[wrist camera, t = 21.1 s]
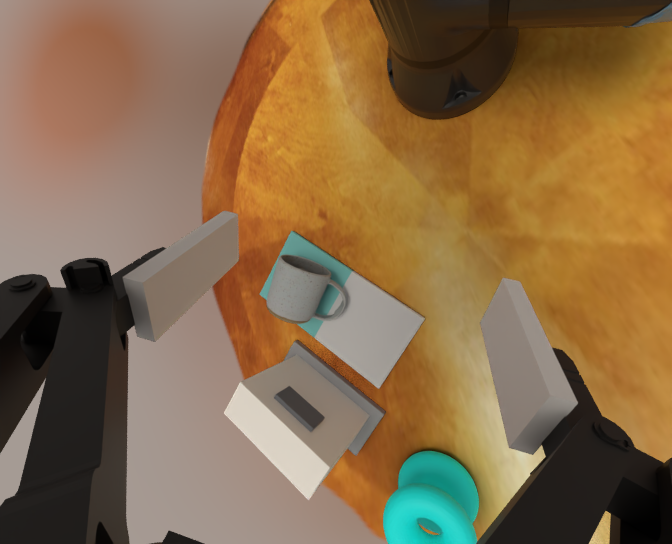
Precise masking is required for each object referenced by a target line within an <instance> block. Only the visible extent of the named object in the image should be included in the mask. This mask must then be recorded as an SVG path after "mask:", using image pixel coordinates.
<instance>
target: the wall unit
mask: <svg viewBox="0 0 672 544" xmlns="http://www.w3.org/2000/svg"><path fill="white" fill-rule="evenodd" d="M385 413H386V411H384V410H383V409H382V408H381V407H380V406H378V405H377V404H376V403H375V402H373V401H372V400H371V399H370V398H368V397H367V396H366V395H365V394H364V393H362V392H361V391H360V390H359V389H357V388H356V387H355V386H354V385H353V384H351V383H350V382H349V381H348V380H346V379H345V378H344V377H343V376H341V375H340V374H339V373H338V372H337V371H335V370H334V369H333V368H332V367H330V366H329V365H328V364H327V363H325V362H324V361H323V360H322V359H321V358H319V357H318V356H317V355H316V354H314V353H313V352H312V351H311V350H310V349H308V348H307V347H306V346H305V345H303V344H302V343H301V342H300V341H298V340H296V341H294V343H293V345H292V346H291V348H290V350H289V352H288V354H287V355H286V357H285V359H284V361H283V362H281V363H279V364H277V365H275V366H273V367H271V368H268V369H266V370H264V371H262V372H260V373H258V374H256V375H254V376H252V377H250V378H248V379H246V380H244V381H241V382H240V383H239V385H238V387H237V389H236V391H235V393H234V395H233V397H232V399H231V401H230V403H229V405H228V406H227V408H226V410H225V412H224V414H225V415H226V416H227V417H228V418H229V419H230V420H231V421H232V422H233V423H234V424H235V425H236V426H237V427H238V428H239V429H240V430H241V431H242V432H243V433H244V434H245V435H246V436H247V437H248V438H249V439H250V440H251V441H252V442H253V443H254V445H256V447H257V448H258V449H259V450H260V451H261V452H262V453H263V454H264V455H265V456H266V457H267V458H268V459H269V460H270V461H271V462H272V463H273V464H274V465H275V466H276V467H277V468H278V469H279V470H280V471H281V472H282V473H283V474H284V475H285V476H286V477H287V478H288V480H289V481H290V482H291V483H293V484H294V486H295V487H296V488H297V489H298V490H299V491H300V492H301V493H302V494H303V495H304V496H305V497H306V498H307V499H308V500H309V499H310V497H311V496H312V495H313V493H314V492H315V491H316V490H317V488H318V487H319V486H320V484H321V483H322V482H323V480H324V479H325V478H326V476H327V475H328V474H329V472H330V471H331V470H332V468H333V467H334V466H335V464H336V463H337V462H338V460H339V459H340V458H341V456H342V455H343V454H344V452H345V451H346V450H347V448H348V449H349V450H350V451H351V452H352V453H353V454H354V455H357V454H358V452H359V451H360V449H361V448H362V446H363V445H364V443H365V442H366V441H367V439H368V438H369V436H370V435H371V433H372V432H373V430H374V429H375V427H376V426H377V424H378V423H379V421H380V420H381V419H382V417H383V416H384V414H385Z"/></svg>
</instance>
